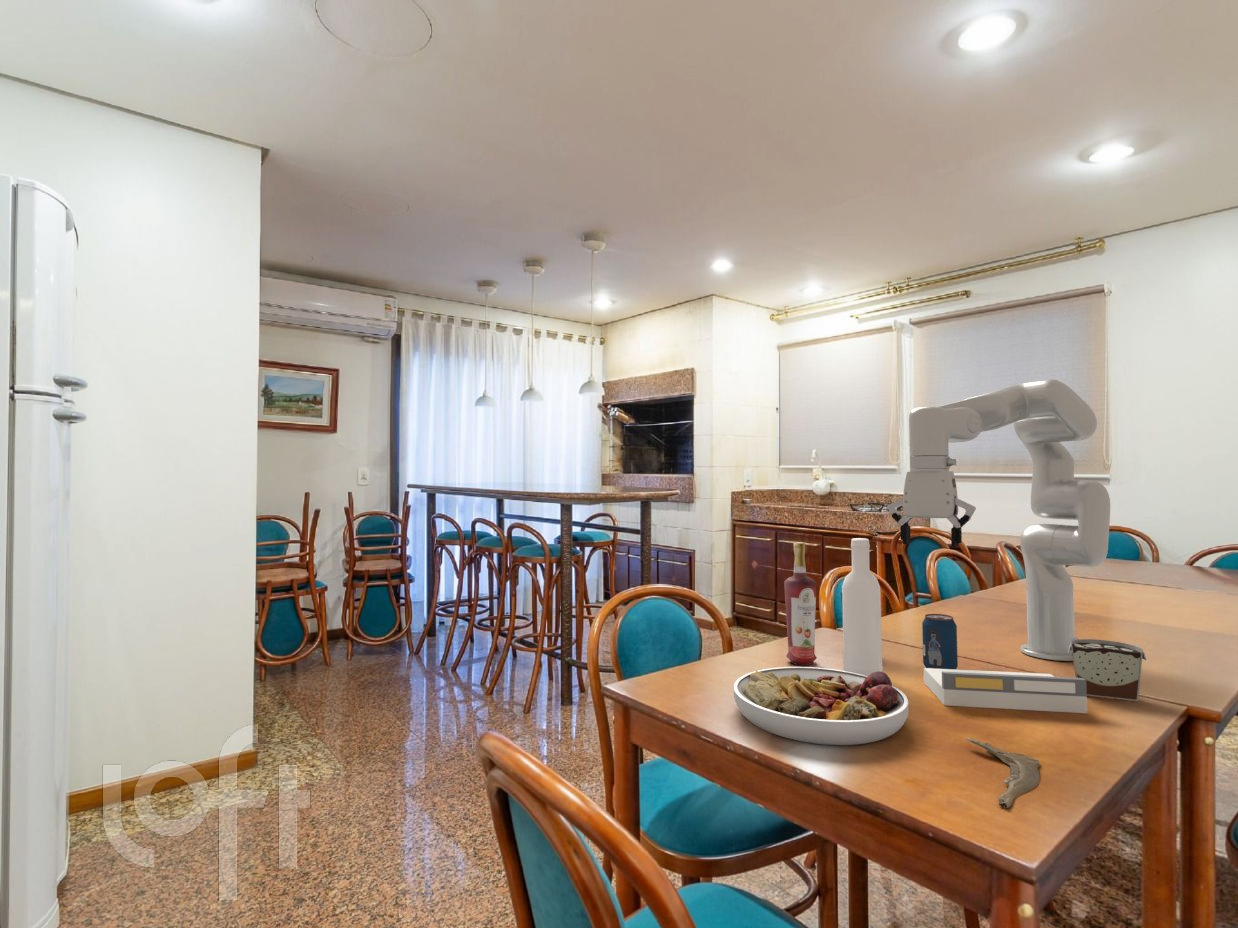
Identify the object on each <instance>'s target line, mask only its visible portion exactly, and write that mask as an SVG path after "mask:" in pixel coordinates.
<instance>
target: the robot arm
mask: <svg viewBox="0 0 1238 928" xmlns="http://www.w3.org/2000/svg"><path fill="white" fill-rule="evenodd" d="M1011 424H1013V427H1014V432H1015V434H1016V436H1017V438H1019V440H1020V441H1021V442H1022V444H1023V445H1024V447H1026V449H1027V452H1028V454H1029V455H1030V457H1031V460H1032V475H1031V476H1032V477H1031V491H1030V492H1031V493H1030V509H1031V510H1032V513H1033V514H1034V515H1035V516H1037V517H1039V518H1043V519H1051V520H1065V521H1066V520H1067V521H1071V520H1072V521H1078V522H1077V523H1078V525H1070V524H1069V525H1068V524H1056V523H1054V524H1053V523H1037V524H1031V525H1029V526H1027V527H1025V528H1024V529H1023V530H1022V532H1021V534H1020V537H1019V544H1020V545H1019V546H1020V551H1021V553H1022V554H1021V555H1022V558H1023V563H1024V570H1025V583H1026V585H1025V587H1026V588H1025V591H1026V593H1025V594H1026V625H1027V626H1026V627H1027V629H1026V630H1027V643H1024V644H1021V645H1020V652H1022V653H1023V654H1025V655H1028V656H1029V657H1030V656H1031V657H1033V658H1038V659H1042V660H1043V659H1044V660H1051V661H1061V662H1062V661H1063V662H1073V656H1072V650H1071V651H1070V653H1068V650H1069V645H1070V644H1071V641H1073V640H1077V639H1080V638H1079V637H1076V636H1075V633H1076V631H1075V605H1074V604H1075V603H1074V601H1075V600H1074V599H1075V598H1074V584H1073V580H1072V578H1071V576H1070V574H1069V573H1068V571H1067V569H1066V568H1065V567H1064V566H1072V567H1083V568H1096V567H1099V566H1101V565H1102V564H1103V563H1104V562H1105V561H1106V559H1107V556H1108V550H1109V537H1110V522H1111V520H1110V519H1111V498H1110V494H1109V492H1108V489H1107V488H1106V487H1105V486H1104V485H1103V484H1102V483H1101V482H1098V481H1097V480H1096V481H1095V480H1089V479H1078V480H1077V479H1075V460H1074V457H1073V455H1072V454H1071V453H1070V451H1069V450H1068V449H1067V448H1066V447H1065V446H1064V445H1063V444H1062V442H1079V441H1083V440H1087V439H1089V438H1091V437H1092V436H1093V435H1094V433H1095V432H1096V430H1097V426H1098V421H1097V417H1096V414H1095V412H1094V411H1093V409H1092V408H1091V406H1090V405H1089V404H1087V402H1086V401H1084V400H1083V398H1081V396H1080V395H1078V394H1077V393H1076V392H1075V391H1074V390H1073V388H1071V387H1070V386H1069V385H1067V384H1065V383H1064V382H1062V381H1060V380H1058V379H1053V378H1051V379H1050V378H1049V379H1043V380H1035V381H1030V382H1029V381H1028V382H1021V383H1016V384H1011V385H1008V386H1005V387H1002V388H1000V389H996V390H993V391H990V392H987V393H984V394H980V395H976V396H973V397H968V398H965V399H962V400H959V401H955V402H952V403H948V404H947V403H946V404H943V405H939V406H923V407H922V406H921V407H916V408H913V409H912V410H911V411H910V412H909V415H908V432H909V433H908V434H909V435H908V436H909V437H908V439H909V441H908V443H909V471H906V474H905V479H904V487H903V493H902V494H903V496H902V497H901V498H899V499H898V500H896V501H894V502H892V503H889V504H888V505H887V506H886V507H887V510H888V512H889V513H890V515H891V518H892V519H893V520H894V521H895V522H897V524H898V526H899V528H900V529H899V530H900V531H899V532H900V535H899V536H900V540H901V541H902V545H910V544H911V540H912V539H911V536H912V535H911V525H909V523H910V522H911V520H913V519H914V518H921V519H923V518H924V519H947V520H948V521H949V522H950V523H951V524H952V527H951V528H950V538H951V540H950V541H951V544H950V545H951V547H952V548H958V547H960V544H962V541H963V539H962V538H963V537H962V535H963V534H962V528H963V527H964V526H965V525H966V524H967V523H968V522H970V520H972V517H973V515H974V513H975V512H976V511H977V508H976V506H974V505H972V504H971V503H968V502H966V501H964V500H962V499H960V498H958V496H959V495H958V489H957V488H958V487H957V483H956V482H957V481H956V477H955V473H954V471H953V470H951V471H950V469H951V467H952V466H957V459H956V458H951V457H950V456H949V453H950V452H949V451H950V450H949V444H952V443H954V444H955V443H963V442H964V443H967V442H969V441H972V440H974V439H976V438H977V437H978V436H979V435H980V434H981V433H982V432H983V433H984V432H989V431H993V430H999V429H1001V428H1004V427H1007V426H1009V425H1011ZM901 506H902V510H903V516H902V515H901V514H900V513H899V512H898V508H899V507H901ZM959 508H961V509H964V510H965V513H964V515H963V516H961V517H960V518H959V516H958V515H959Z"/></svg>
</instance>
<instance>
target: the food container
mask: <svg viewBox="0 0 1238 928" xmlns="http://www.w3.org/2000/svg"><path fill="white" fill-rule="evenodd" d="M1071 650H1072V656H1073V661H1072V662H1073V668H1074V675H1075V678H1084V679H1085V680H1086V688H1087V697H1096V698H1104V697H1106V698H1107V699H1114V698H1119V699H1118V700H1123V699H1124V700H1125V699H1126V700H1125V701H1132V700H1135V701H1134V702H1139V695H1140V686H1141V685H1140V683H1141V674H1142V665H1143V664H1142V663H1143V660H1145V661H1147V656H1146V654H1145V652H1144V650H1143V648H1141V647H1139V646H1136V645H1133V644H1129V643H1125V642H1120V641H1115V640H1105V639H1094V638H1079V639H1077V640H1073V641H1071V644H1070V645H1069V650H1068V653H1070V651H1071ZM1106 698H1105V699H1106Z"/></svg>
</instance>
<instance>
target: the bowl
mask: <svg viewBox="0 0 1238 928" xmlns="http://www.w3.org/2000/svg"><path fill="white" fill-rule="evenodd" d="M733 698H734V702H735V703H736V704H735V705H736V707H737V708H738V710H739V711H740V713H741V714H742V715H743V716H744V717H745V718H746V719H747V720H748V721H749V722H750V723H752V724H753V725H755V727H758V728H760V729H762V730H763V731H765V732H768V733H770V734H774V735H777V736H779V737H782V738H786V739H789V740H794V741H798V742H803V743H807V744H808V743H809V744H815V745H816V744H817V745H826V746H827V745H828V746H853V745H854V746H855V745H856V746H857V745H864V744H868V743H869V744H870V743H875V742H877V741H880V740H881V741H882V740H884V739H887V738H889V737H890V736H893V735H894V734H895V733H897V732H898V731H899V730H900V729H901V728H902V727H903V726H904V724H905V722H906V721H907V719H908V715H909V707H910V705H909V699H908V697H907V695H906V694H905V692H903V691H902V690H901V689H899V688H898V687H896V686H894V685H892V681H891V678H890V677H889V676H888V674H887V673H886V672H884V671H883V672H881V671H877V672H873V673H871V674H870V675H869V676H865V675H861V674H857V673H853V672H847V671H844V670H843V669H842V670H841V669H832V668H825V667H816V666H815V667H813V666H783V667H772V668H765V669H759V670H755V671H751V672H749V673H746V674H744V675H742V676H740V677H738V678H737V680H735V682H734V684H733Z"/></svg>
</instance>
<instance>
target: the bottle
mask: <svg viewBox="0 0 1238 928" xmlns="http://www.w3.org/2000/svg"><path fill="white" fill-rule="evenodd" d="M850 543H851V544H850V548H851V571H850V572H849V573H848V574H846V575H845V576H844V579H843V582H842V584H841V585H842V586H841V589H842V590H841V591H842V604H843V617H842V638H843V639H842V641H843V643H842V644H843V649H842V650H843V651H842V655H843V661H842V662H843V663H842V668H843V669H842V671H847V672H853V673H857V674H861V675H865V676H869V675H870V674H871V673H873V672H877V671H881V672H884V670H883V667H884V666H883V651H882V650H883V649H882V647H883V646H882V642H883V641H882V608H881V607H882V606H881V605H882V603H881V601H882V600H881V599H882V597H881V585H880V583H879V581H878V578H877V576H875V575H874V574H873V573H872V572H871V569H870V548H871V544H870V540H869V538H866V537H864V538H863V537H862V538H861V537H858V538H857V537H856V538H853V537H852V538H851V542H850ZM842 604H841V605H842Z"/></svg>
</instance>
